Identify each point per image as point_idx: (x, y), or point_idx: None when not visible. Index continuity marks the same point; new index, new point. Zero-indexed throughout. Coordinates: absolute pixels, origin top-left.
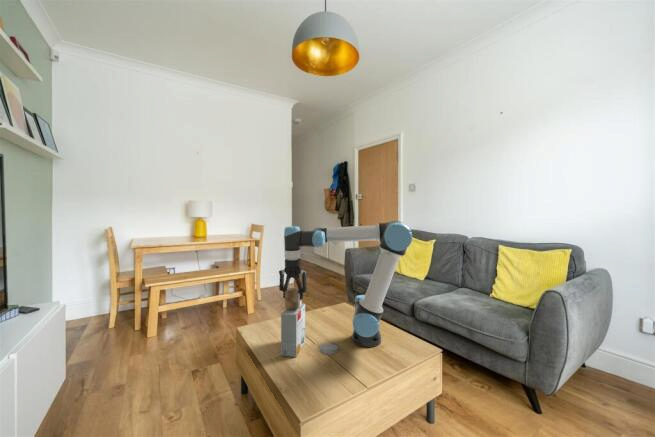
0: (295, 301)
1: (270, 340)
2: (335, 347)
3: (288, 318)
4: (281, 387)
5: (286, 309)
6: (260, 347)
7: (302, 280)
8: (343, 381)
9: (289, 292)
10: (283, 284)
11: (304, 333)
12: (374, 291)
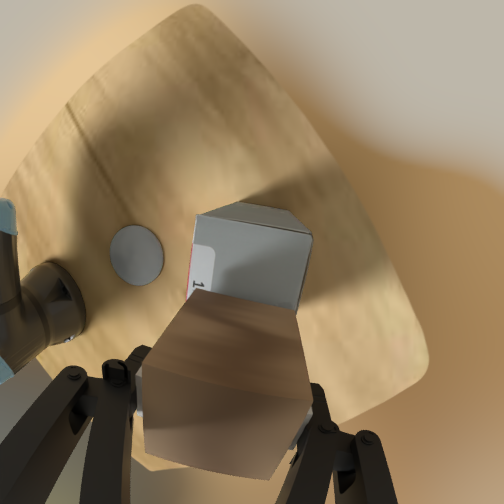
0: (191, 316)
1: (344, 311)
2: (117, 260)
3: (256, 219)
4: (257, 64)
5: None
6: (370, 266)
7: (18, 465)
8: (102, 107)
9: (246, 387)
10: (338, 499)
11: None
12: None
